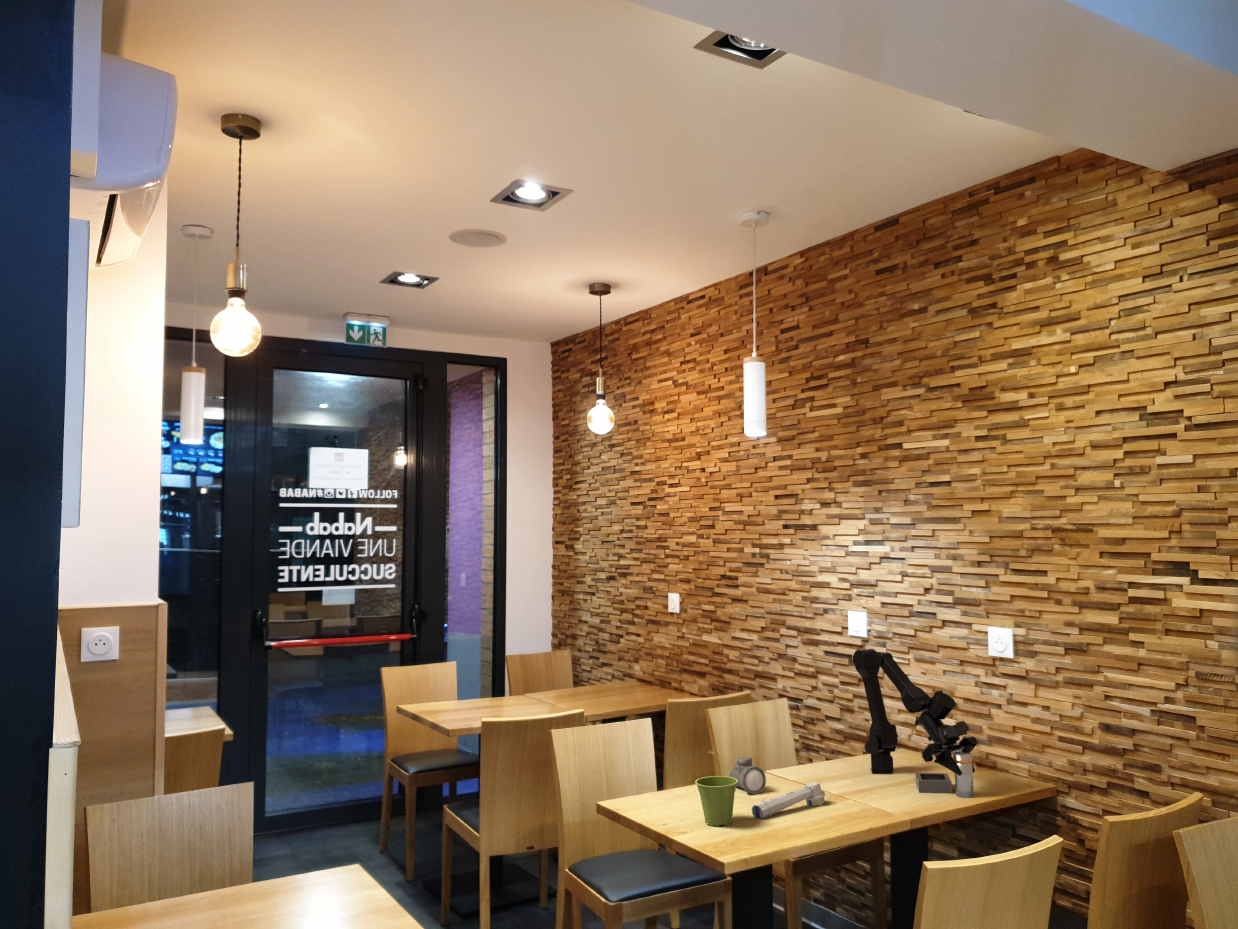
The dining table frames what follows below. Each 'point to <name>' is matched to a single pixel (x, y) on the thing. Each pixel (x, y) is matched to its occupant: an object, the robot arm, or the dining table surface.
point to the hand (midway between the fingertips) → (967, 773)
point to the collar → (933, 783)
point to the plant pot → (717, 798)
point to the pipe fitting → (748, 776)
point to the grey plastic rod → (790, 800)
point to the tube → (964, 775)
